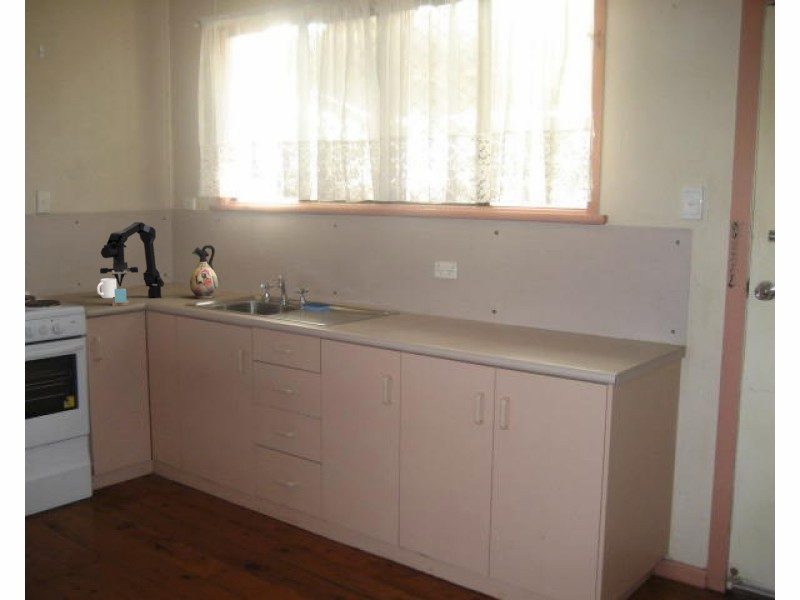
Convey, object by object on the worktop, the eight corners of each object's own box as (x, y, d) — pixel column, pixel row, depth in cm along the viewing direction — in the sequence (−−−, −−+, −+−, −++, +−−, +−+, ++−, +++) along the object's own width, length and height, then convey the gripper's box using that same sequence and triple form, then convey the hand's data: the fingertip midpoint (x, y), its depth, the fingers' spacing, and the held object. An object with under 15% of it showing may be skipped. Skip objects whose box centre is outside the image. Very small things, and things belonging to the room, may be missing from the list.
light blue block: (126, 300, 424) (125, 288, 424) (126, 302, 419) (125, 289, 418) (115, 301, 423) (114, 288, 422) (115, 302, 418) (114, 290, 417)
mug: (102, 299, 440) (101, 281, 438) (92, 298, 444) (91, 280, 442) (120, 297, 450) (119, 278, 448) (110, 295, 454) (109, 277, 453)
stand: (128, 303, 426) (128, 290, 425) (128, 305, 419) (128, 292, 418) (112, 303, 424) (112, 290, 423) (112, 306, 416) (111, 292, 415)
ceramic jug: (191, 300, 438) (189, 245, 434) (189, 296, 453) (187, 243, 449) (222, 298, 444) (221, 245, 440) (219, 295, 458) (218, 243, 454)
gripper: (99, 258, 407) (100, 288, 409) (137, 257, 413) (138, 287, 415) (99, 256, 418) (101, 286, 420) (137, 255, 423) (138, 284, 426)
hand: (120, 286), depth 420 cm, fingers closed
